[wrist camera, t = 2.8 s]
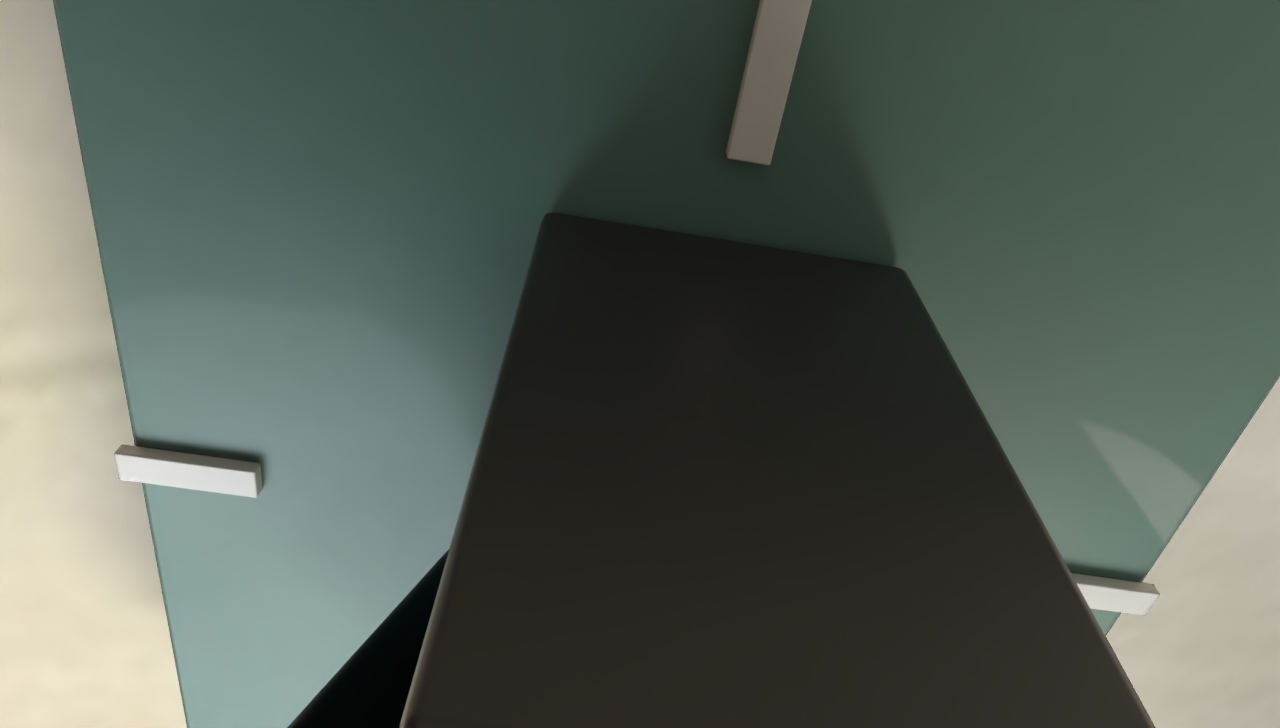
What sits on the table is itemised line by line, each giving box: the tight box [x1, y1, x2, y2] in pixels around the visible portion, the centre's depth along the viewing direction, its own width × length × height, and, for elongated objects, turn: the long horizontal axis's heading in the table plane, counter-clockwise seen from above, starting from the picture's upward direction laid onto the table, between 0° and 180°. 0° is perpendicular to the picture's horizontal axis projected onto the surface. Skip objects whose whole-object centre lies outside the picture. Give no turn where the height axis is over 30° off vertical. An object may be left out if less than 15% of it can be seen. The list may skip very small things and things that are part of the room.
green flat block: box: [53, 0, 1280, 728], centre depth 10 cm, size 14×11×3 cm
